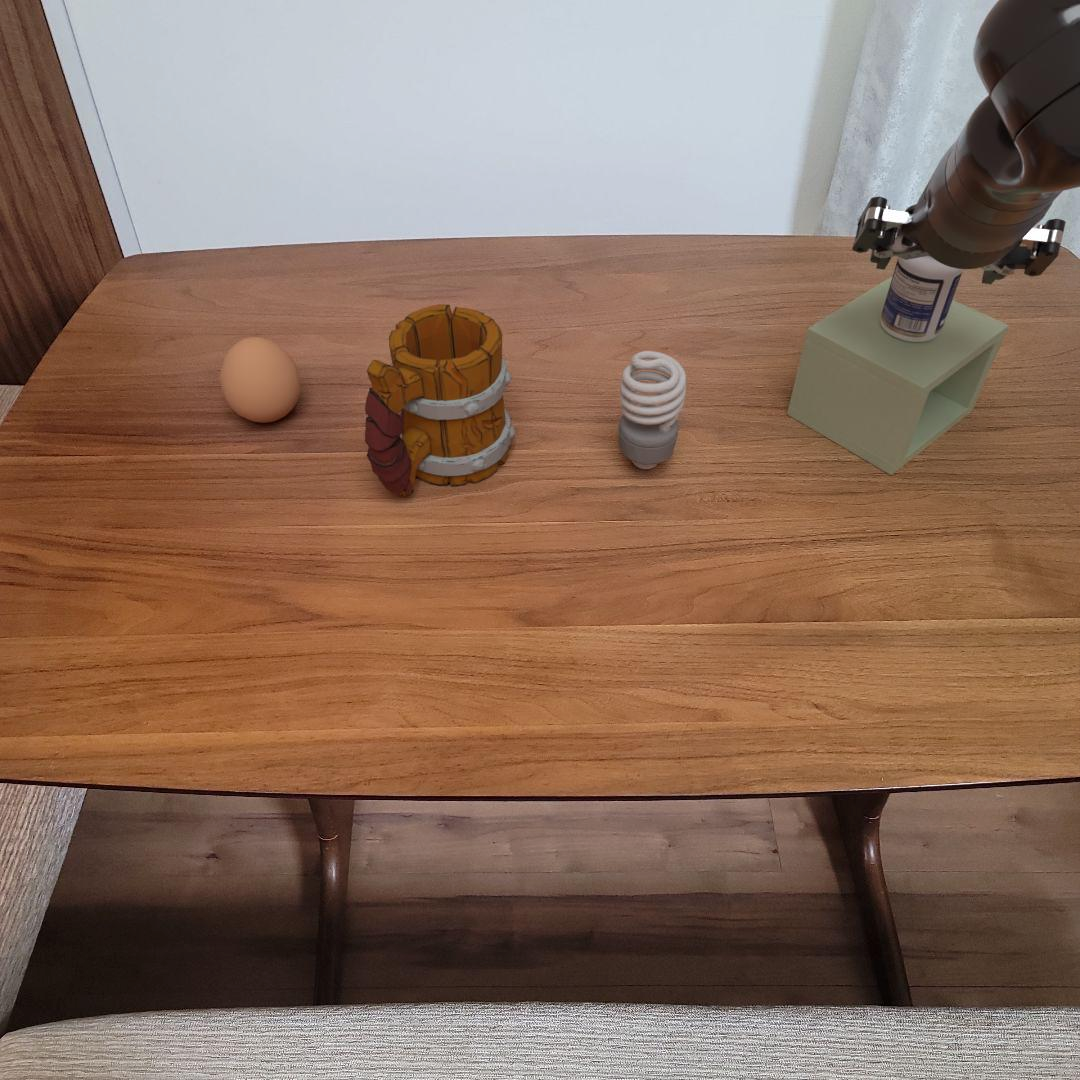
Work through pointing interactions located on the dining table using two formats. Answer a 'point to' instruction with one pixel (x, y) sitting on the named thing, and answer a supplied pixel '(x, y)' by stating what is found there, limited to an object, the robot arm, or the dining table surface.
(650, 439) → the light bulb
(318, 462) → the dining table surface
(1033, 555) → the dining table surface
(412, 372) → the mug
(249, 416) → the egg
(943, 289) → the pill bottle
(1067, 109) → the robot arm
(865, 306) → the shelf
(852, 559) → the dining table surface
